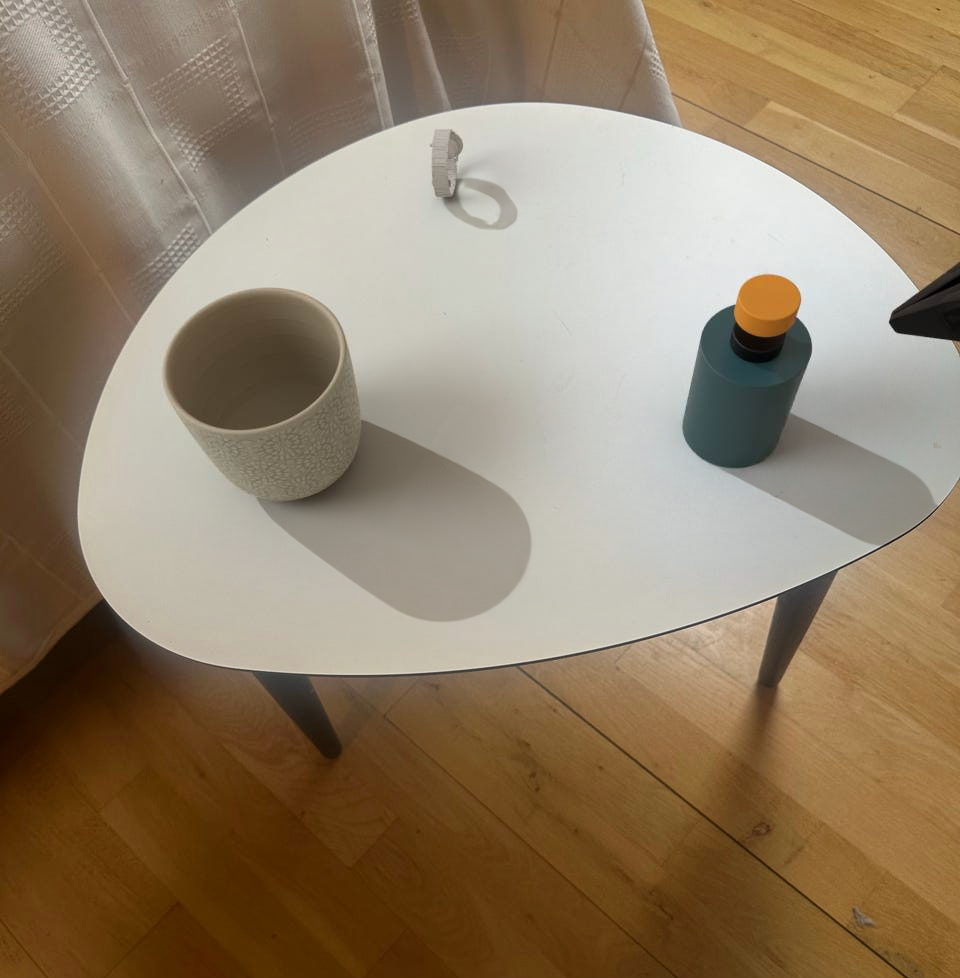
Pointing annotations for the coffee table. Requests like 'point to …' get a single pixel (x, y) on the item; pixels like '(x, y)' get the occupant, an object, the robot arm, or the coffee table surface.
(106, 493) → the coffee table surface
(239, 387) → the planter
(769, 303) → the orange short cylinder
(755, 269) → the coffee table surface
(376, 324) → the coffee table surface
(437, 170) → the wristwatch
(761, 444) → the bottle
